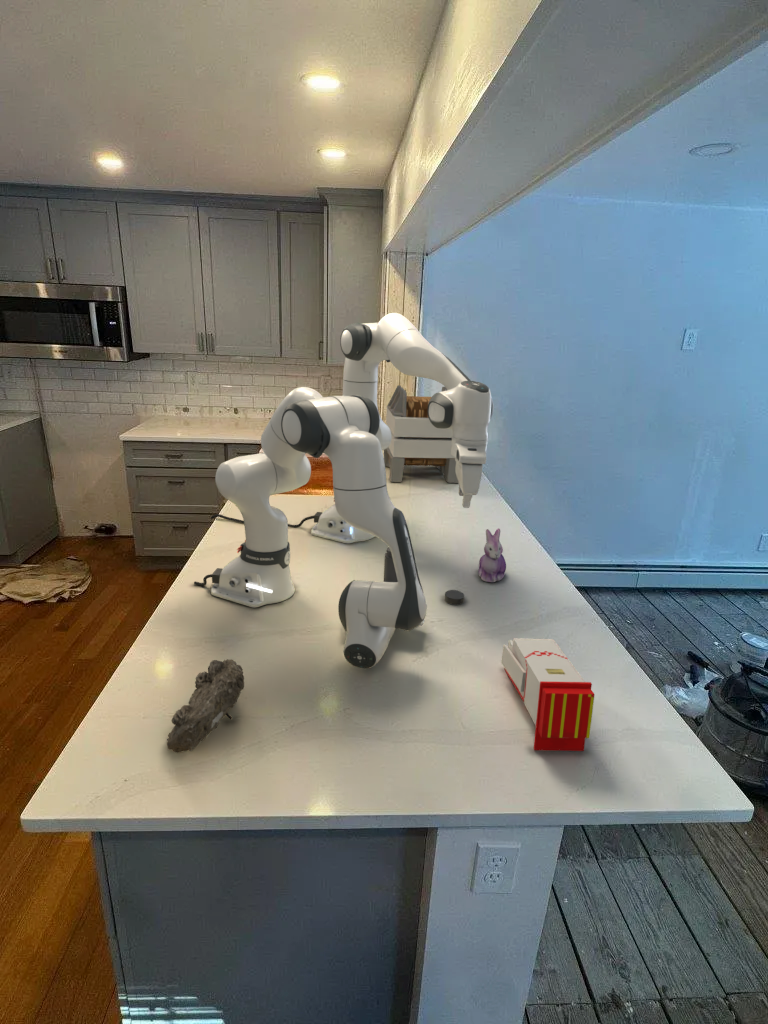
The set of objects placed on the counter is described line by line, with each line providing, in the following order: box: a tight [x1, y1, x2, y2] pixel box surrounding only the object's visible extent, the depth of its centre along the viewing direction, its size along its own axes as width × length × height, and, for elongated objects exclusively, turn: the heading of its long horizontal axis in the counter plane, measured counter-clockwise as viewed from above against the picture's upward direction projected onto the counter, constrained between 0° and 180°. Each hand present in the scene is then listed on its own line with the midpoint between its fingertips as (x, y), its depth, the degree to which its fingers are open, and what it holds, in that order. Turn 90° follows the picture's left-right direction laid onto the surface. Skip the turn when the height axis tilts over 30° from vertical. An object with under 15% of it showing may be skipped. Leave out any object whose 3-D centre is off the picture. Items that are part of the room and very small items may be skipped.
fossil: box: [166, 658, 245, 754], centre depth 106 cm, size 22×10×15 cm
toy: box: [500, 637, 595, 752], centre depth 114 cm, size 12×13×30 cm
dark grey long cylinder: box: [382, 546, 398, 582], centre depth 145 cm, size 5×5×18 cm
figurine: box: [477, 527, 507, 583], centre depth 168 cm, size 9×10×15 cm
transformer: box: [383, 384, 459, 484], centre depth 268 cm, size 34×33×41 cm
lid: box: [444, 589, 465, 606], centre depth 156 cm, size 5×5×2 cm
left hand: (392, 593), depth 146 cm, fingers open, 8 cm apart
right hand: (463, 500), depth 146 cm, fingers open, 8 cm apart
